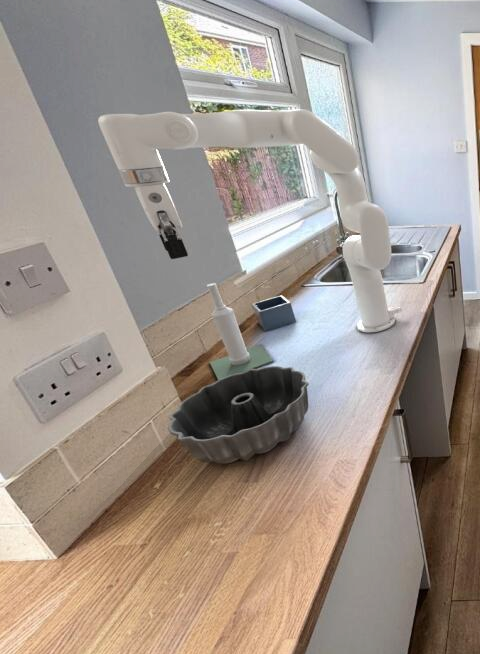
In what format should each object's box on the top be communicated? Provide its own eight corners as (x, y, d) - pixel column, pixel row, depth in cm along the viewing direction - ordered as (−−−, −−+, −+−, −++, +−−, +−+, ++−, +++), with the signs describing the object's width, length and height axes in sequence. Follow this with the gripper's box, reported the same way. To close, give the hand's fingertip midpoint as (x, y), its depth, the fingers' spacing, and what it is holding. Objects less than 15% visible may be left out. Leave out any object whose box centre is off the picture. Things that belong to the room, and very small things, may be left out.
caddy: (287, 313, 153) (281, 295, 150) (296, 321, 146) (290, 302, 143) (258, 322, 147) (251, 303, 143) (265, 331, 140) (258, 311, 137)
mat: (260, 345, 131) (260, 344, 131) (273, 361, 121) (273, 360, 121) (209, 363, 122) (209, 362, 122) (219, 382, 113) (218, 380, 113)
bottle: (236, 357, 124) (207, 281, 113) (254, 355, 124) (226, 280, 114) (227, 366, 119) (195, 288, 109) (245, 365, 119) (215, 287, 109)
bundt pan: (294, 384, 110) (284, 353, 106) (336, 428, 93) (326, 393, 89) (176, 436, 93) (158, 401, 89) (200, 502, 76) (180, 463, 72)
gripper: (172, 177, 83) (202, 256, 90) (163, 172, 95) (190, 243, 102) (124, 182, 79) (160, 265, 86) (121, 176, 90) (153, 250, 98)
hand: (176, 253), depth 94 cm, fingers open, 9 cm apart
